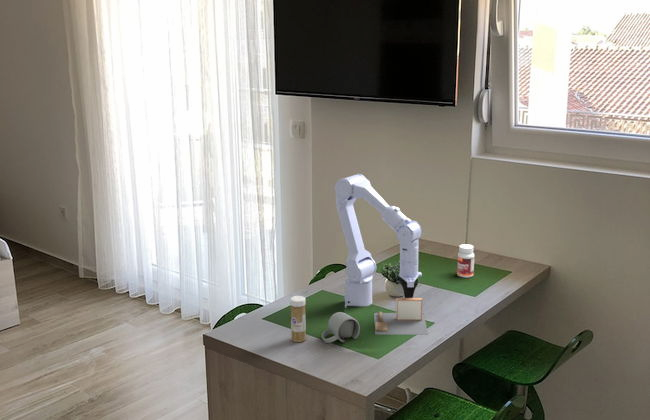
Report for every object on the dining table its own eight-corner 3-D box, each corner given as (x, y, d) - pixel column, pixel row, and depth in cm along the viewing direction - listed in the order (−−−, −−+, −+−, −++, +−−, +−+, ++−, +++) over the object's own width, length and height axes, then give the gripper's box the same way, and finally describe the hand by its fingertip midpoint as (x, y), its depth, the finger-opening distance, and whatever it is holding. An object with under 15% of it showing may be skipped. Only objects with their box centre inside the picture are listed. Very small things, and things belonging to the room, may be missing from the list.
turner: (375, 331, 211) (375, 327, 211) (374, 314, 223) (374, 311, 223) (387, 331, 211) (387, 327, 211) (385, 314, 223) (385, 311, 223)
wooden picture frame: (396, 320, 218) (396, 299, 217) (396, 318, 220) (396, 297, 218) (421, 320, 218) (422, 299, 216) (421, 318, 220) (421, 297, 218)
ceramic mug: (347, 329, 215) (347, 306, 212) (360, 340, 207) (360, 316, 205) (317, 337, 210) (316, 314, 208) (329, 348, 203) (328, 324, 201)
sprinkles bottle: (289, 341, 207) (287, 299, 204) (295, 335, 211) (293, 294, 208) (303, 343, 206) (301, 301, 202) (308, 337, 210) (307, 296, 206)
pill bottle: (454, 276, 258) (455, 247, 255) (460, 271, 263) (461, 242, 260) (470, 278, 255) (471, 249, 252) (475, 273, 260) (477, 245, 257)
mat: (375, 336, 209) (375, 334, 209) (373, 315, 225) (373, 312, 224) (428, 336, 209) (428, 334, 208) (423, 315, 224) (423, 313, 224)
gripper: (424, 267, 210) (423, 309, 214) (419, 252, 224) (419, 291, 228) (400, 268, 211) (400, 309, 214) (398, 252, 225) (397, 291, 228)
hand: (408, 300), depth 221 cm, fingers closed
